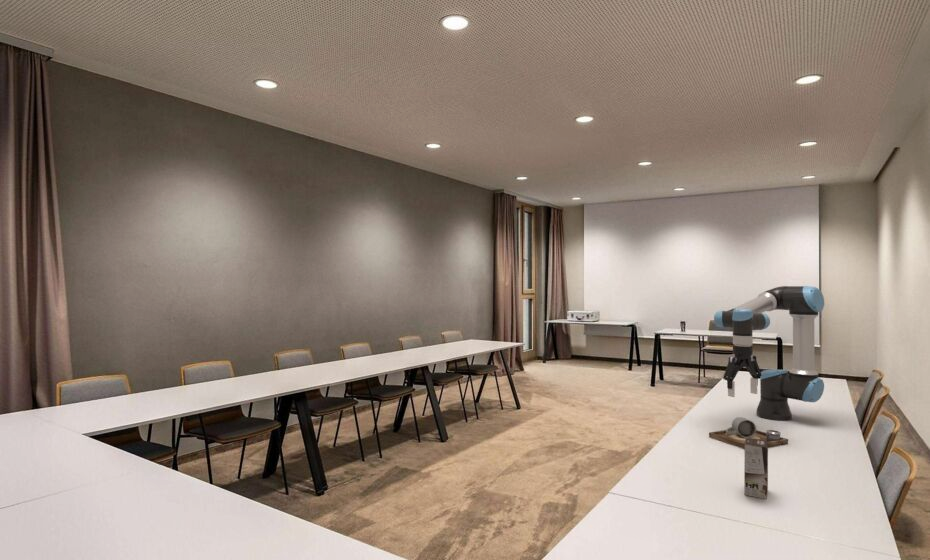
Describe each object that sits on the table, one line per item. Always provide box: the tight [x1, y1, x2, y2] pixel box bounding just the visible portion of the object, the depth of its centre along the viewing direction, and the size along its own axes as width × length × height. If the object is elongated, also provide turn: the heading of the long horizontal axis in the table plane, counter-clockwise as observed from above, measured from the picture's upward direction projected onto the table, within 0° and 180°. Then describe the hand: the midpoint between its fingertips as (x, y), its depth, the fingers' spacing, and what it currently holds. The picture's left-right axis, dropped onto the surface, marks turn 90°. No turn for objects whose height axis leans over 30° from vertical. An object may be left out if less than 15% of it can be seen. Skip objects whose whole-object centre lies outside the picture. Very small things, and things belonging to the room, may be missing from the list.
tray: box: [708, 429, 789, 450], centre depth 221 cm, size 22×20×2 cm
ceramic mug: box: [725, 416, 757, 438], centre depth 224 cm, size 11×8×8 cm
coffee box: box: [743, 438, 769, 500], centre depth 168 cm, size 9×6×16 cm
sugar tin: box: [765, 429, 781, 442], centre depth 218 cm, size 5×5×5 cm
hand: (742, 395), depth 224 cm, fingers open, 13 cm apart
